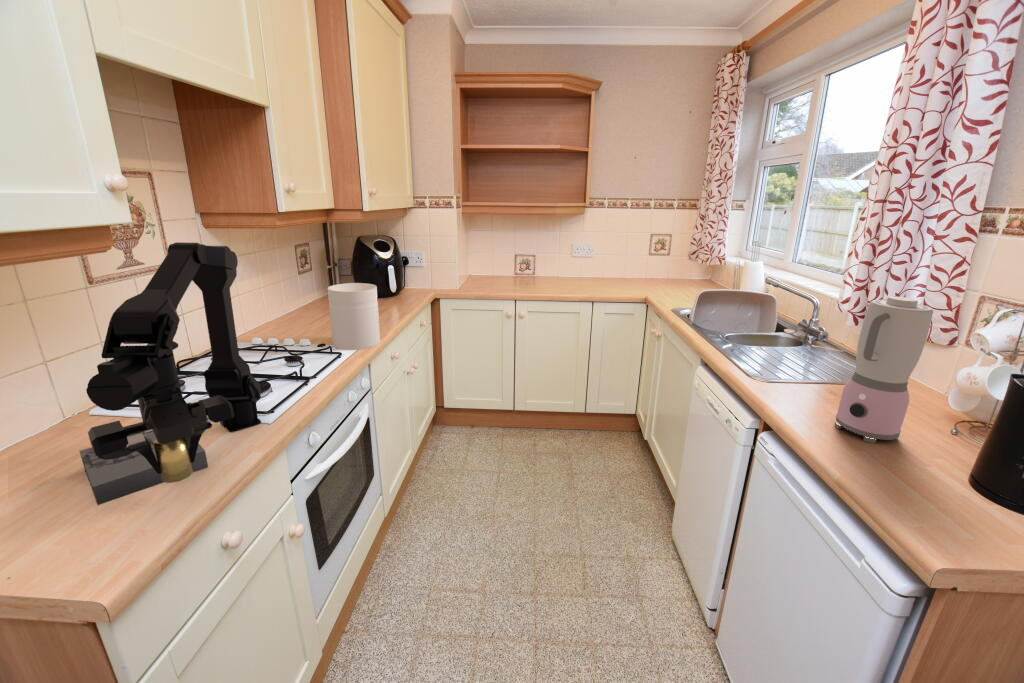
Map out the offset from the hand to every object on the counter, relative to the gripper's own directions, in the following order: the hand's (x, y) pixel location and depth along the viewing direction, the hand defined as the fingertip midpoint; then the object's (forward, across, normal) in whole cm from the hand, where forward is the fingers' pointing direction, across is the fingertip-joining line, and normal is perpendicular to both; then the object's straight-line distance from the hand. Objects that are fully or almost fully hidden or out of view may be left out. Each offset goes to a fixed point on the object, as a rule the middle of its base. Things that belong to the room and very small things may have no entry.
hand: (175, 467), depth 79 cm
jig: (+5, -2, +13) cm, 14 cm away
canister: (+5, +66, +57) cm, 87 cm away
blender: (+5, +115, -84) cm, 143 cm away
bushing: (+2, 0, 0) cm, 2 cm away
